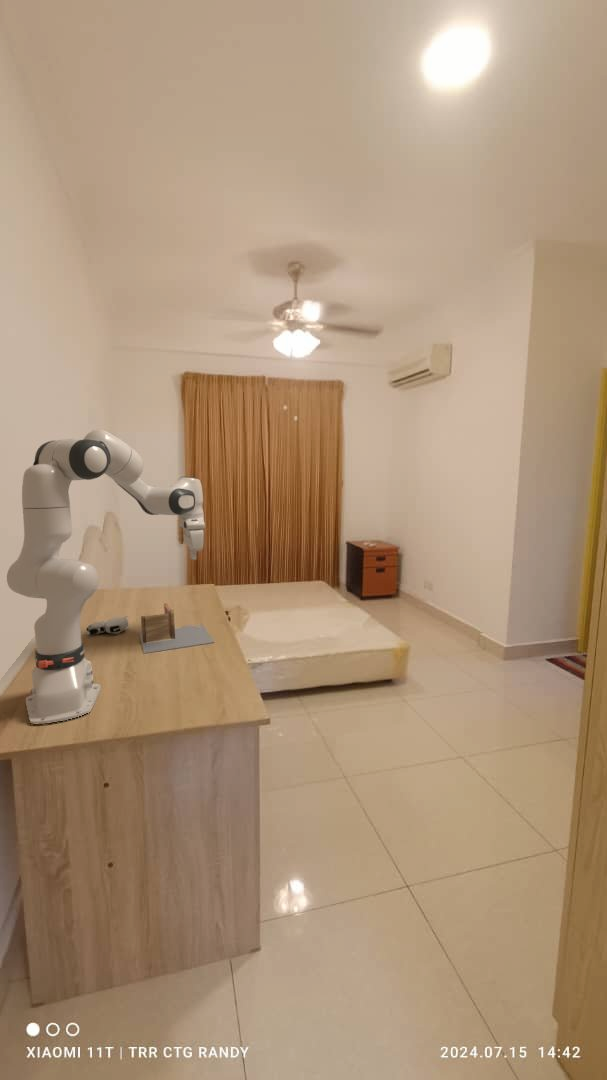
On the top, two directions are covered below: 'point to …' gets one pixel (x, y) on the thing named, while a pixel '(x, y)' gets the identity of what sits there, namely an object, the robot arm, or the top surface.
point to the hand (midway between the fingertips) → (193, 559)
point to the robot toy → (108, 626)
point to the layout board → (179, 639)
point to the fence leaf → (166, 610)
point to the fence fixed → (157, 627)
